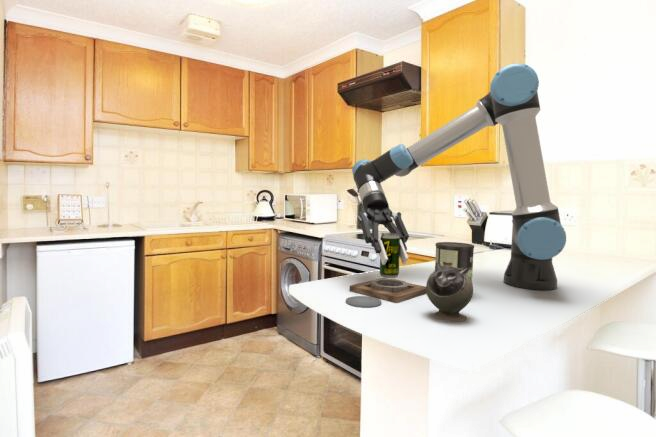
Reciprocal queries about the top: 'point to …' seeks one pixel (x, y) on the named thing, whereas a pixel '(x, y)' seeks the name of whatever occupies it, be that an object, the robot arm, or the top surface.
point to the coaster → (363, 301)
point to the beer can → (390, 255)
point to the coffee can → (455, 255)
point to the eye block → (389, 289)
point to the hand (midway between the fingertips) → (395, 261)
